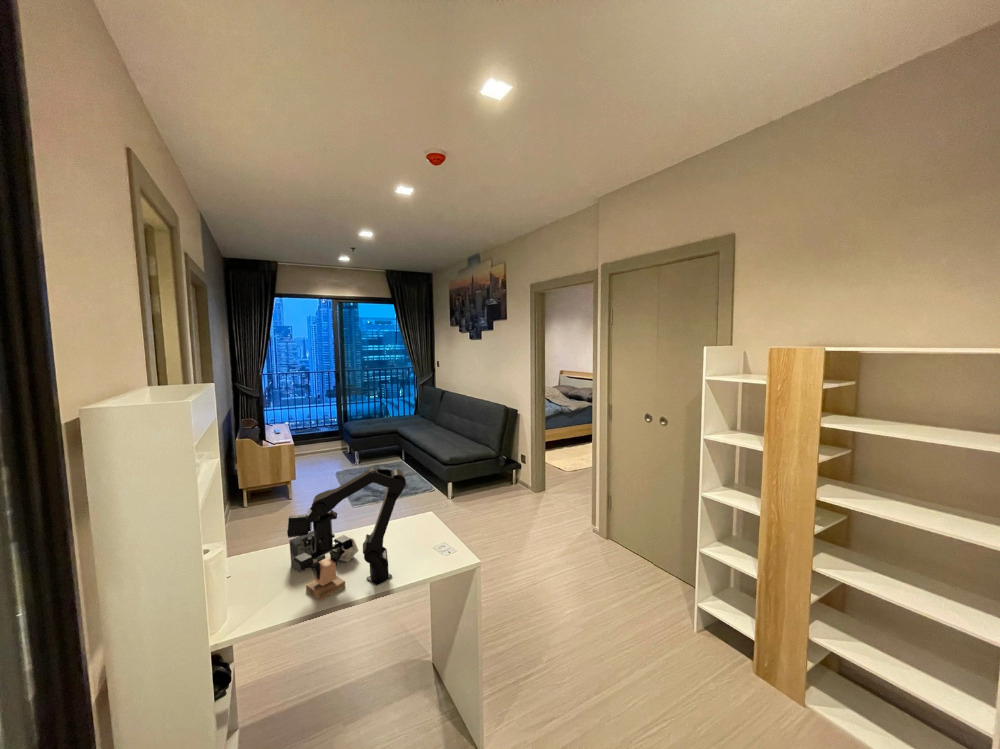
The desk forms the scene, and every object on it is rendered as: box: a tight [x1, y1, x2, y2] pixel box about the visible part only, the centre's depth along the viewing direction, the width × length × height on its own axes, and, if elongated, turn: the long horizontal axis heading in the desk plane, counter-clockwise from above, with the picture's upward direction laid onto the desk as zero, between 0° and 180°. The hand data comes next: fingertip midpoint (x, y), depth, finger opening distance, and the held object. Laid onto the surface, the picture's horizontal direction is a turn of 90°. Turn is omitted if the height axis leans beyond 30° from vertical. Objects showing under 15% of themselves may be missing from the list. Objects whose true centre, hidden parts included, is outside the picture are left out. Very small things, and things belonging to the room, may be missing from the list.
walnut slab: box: [305, 575, 346, 601], centre depth 137 cm, size 9×9×2 cm
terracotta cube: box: [313, 557, 337, 586], centre depth 137 cm, size 5×5×6 cm
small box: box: [288, 530, 326, 573], centre depth 152 cm, size 11×6×10 cm, turn 141°
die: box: [339, 536, 359, 563], centre depth 155 cm, size 8×9×10 cm
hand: (325, 575), depth 137 cm, fingers closed on terracotta cube, 5 cm apart
